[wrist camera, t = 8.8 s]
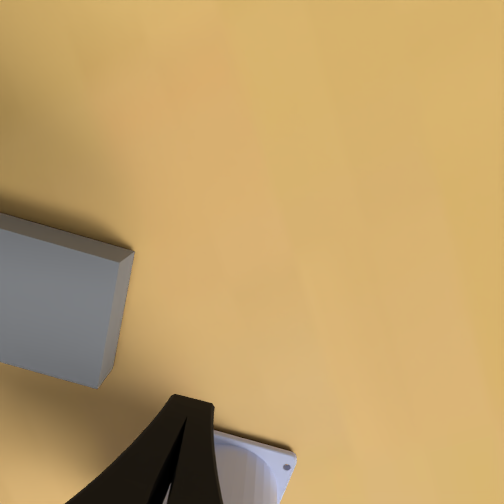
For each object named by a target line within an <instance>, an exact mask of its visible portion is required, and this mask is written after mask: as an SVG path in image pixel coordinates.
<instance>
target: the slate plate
mask: <svg viewBox="0 0 504 504" xmlns="http://www.w3.org/2000/svg"><path fill="white" fill-rule="evenodd" d="M134 253H135V251H132V250H128V249H125V248H121V247H118V246H114V245H111V244H107V243H104V242H100V241H97V240H93V239H90V238H86V237H83V236H80V235H76V234H73V233H69V232H66V231H62V230H59V229H55V228H52V227H48V226H45V225H41V224H38V223H34V222H31V221H27V220H24V219H20V218H17V217H13V216H10V215H7V214H3V213H0V362H2V363H5V364H9V365H13V366H16V367H20V368H23V369H27V370H31V371H34V372H38V373H41V374H45V375H48V376H52V377H56V378H59V379H63V380H66V381H70V382H74V383H77V384H81V385H84V386H88V387H91V388H95V389H98V388H99V386H100V385H101V384H102V382H103V381H104V379H105V378H106V377H107V375H108V374H109V373H110V371H111V370H112V369H113V365H114V360H115V354H116V349H117V344H118V338H119V333H120V328H121V322H122V317H123V312H124V306H125V301H126V296H127V290H128V285H129V280H130V274H131V269H132V264H133V258H134Z"/></svg>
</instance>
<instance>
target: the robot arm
mask: <svg viewBox="0 0 504 504" xmlns="http://www.w3.org/2000/svg"><path fill="white" fill-rule="evenodd" d="M214 408H215V407H214V406H213V404H212V403H208V402H205V401H201V400H197V399H193V398H189V397H185V396H181V395H177V394H174V395H172V396H171V397H170V398H169V400H168V401H167V403H166V404H165V406H164V407H163V408H162V410H161V411H160V412H159V413H158V415H157V416H156V417H155V418H154V420H153V421H152V422H151V423H150V424H149V425H148V427H147V428H146V429H145V430H144V431H143V432H142V433H141V434H140V435H139V436H138V438H137V439H136V440H135V441H134V442H133V443H132V444H131V445H130V446H129V447H128V448H127V449H126V450H125V451H124V452H123V453H122V454H121V455H120V456H119V457H118V458H117V459H116V460H115V461H114V462H113V463H112V464H111V465H110V466H109V467H107V468H106V469H105V470H104V471H103V472H102V473H101V474H100V475H99V476H98V477H96V478H95V479H94V480H93V481H92V482H91V483H89V484H88V485H87V486H86V487H85V488H84V489H82V490H81V491H80V492H79V493H78V494H76V495H75V496H74V497H73V498H71V499H70V500H69V501H67V502H66V503H65V504H280V501H281V499H282V496H283V494H284V492H285V489H286V487H287V484H288V482H289V480H290V477H291V475H292V473H293V470H294V468H295V465H296V463H297V457H296V454H295V453H293V452H291V451H288V450H284V449H281V448H277V447H273V446H270V445H266V444H263V443H259V442H255V441H252V440H248V439H245V438H241V437H238V436H234V435H230V434H227V433H223V432H220V431H216V430H213V419H214ZM285 464H288V465H285Z"/></svg>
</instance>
